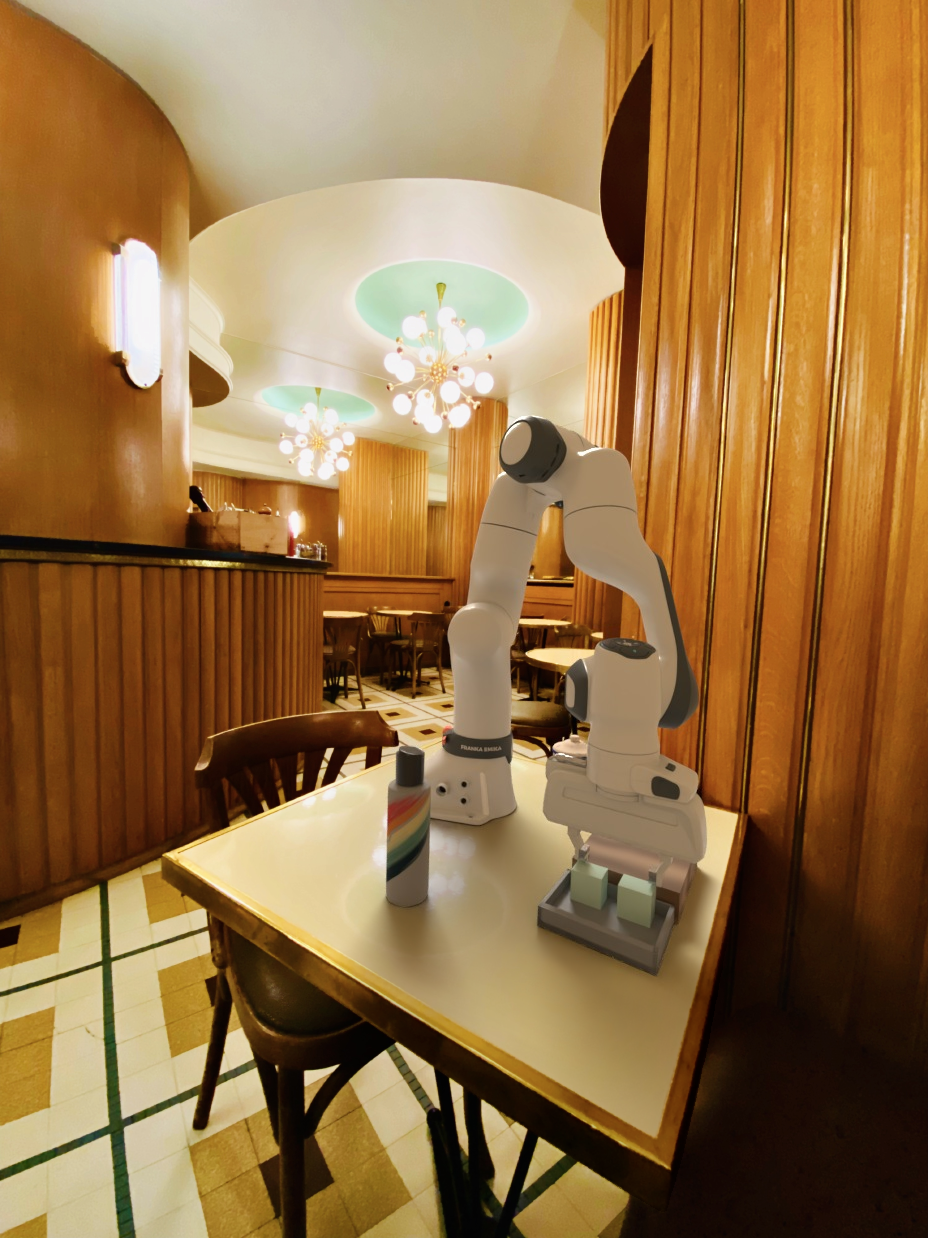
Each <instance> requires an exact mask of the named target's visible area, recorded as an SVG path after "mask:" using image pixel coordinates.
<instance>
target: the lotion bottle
mask: <svg viewBox="0 0 928 1238" xmlns="http://www.w3.org/2000/svg"><path fill="white" fill-rule="evenodd" d="M425 755H426V754H425V750H423V749H422V748H421V747H419V746H416V745H415V746H414V745H401V746H399V747H398V749H397V751H396V752H395V779H393V780H391V781H390V782H389V783H388V785H387V808H386V809H387V813H386V814H387V816H386V818H387V819H386V821H387V822H386V825H387V826H386V858H385V859H386V862H385V863H386V866H385V867H386V868H385V871H386V872H385V873H386V876H385V893H386V894H385V895H386V898H387V899H388V901H389V902H390V904H393V905H395V906H397V907H404V908H405V907H406V908H407V907H412V906H417V905H419V904H421V903H422V902H423V901H425V900H426V899H427V896H428V894H429V883H430V882H429V880H430V847H431V845H430V842H431V839H430V838H431V837H430V836H431V818H430V809H431V784H430V783H429V781H427V780H426V779H424V760H426V759H425Z"/></svg>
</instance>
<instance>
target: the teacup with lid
mask: <svg viewBox="0 0 928 1238" xmlns="http://www.w3.org/2000/svg"><path fill="white" fill-rule="evenodd" d="M551 750H552V756H553V755H556V754H557V753H562V754H566V755H568V756H575V757H581V758H586V759H587V743H586V742H585V741H583V740H581V738H580V736H579V735H578V734H572V735H570V736H569V738H568V739H565V740H563V741H558V742H556V743H554V745H553V746H552V748H551ZM554 759H555V760H556V758H554Z"/></svg>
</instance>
